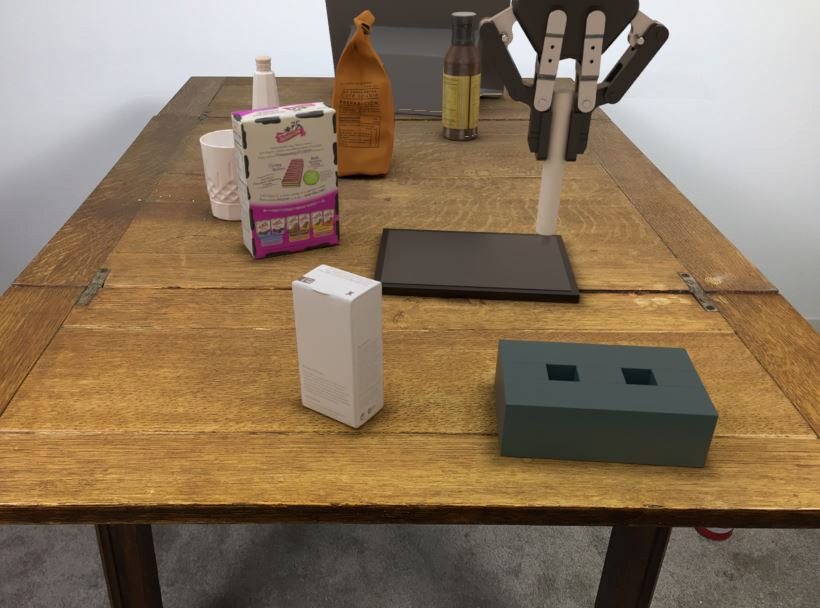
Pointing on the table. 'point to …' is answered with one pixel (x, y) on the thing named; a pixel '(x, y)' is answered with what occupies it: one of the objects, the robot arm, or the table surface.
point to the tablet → (475, 266)
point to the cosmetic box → (339, 343)
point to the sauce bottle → (461, 80)
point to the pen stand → (601, 403)
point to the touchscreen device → (414, 45)
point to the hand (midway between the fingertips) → (555, 157)
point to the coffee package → (363, 106)
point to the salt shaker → (264, 85)
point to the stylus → (554, 164)
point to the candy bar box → (287, 177)
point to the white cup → (221, 174)
